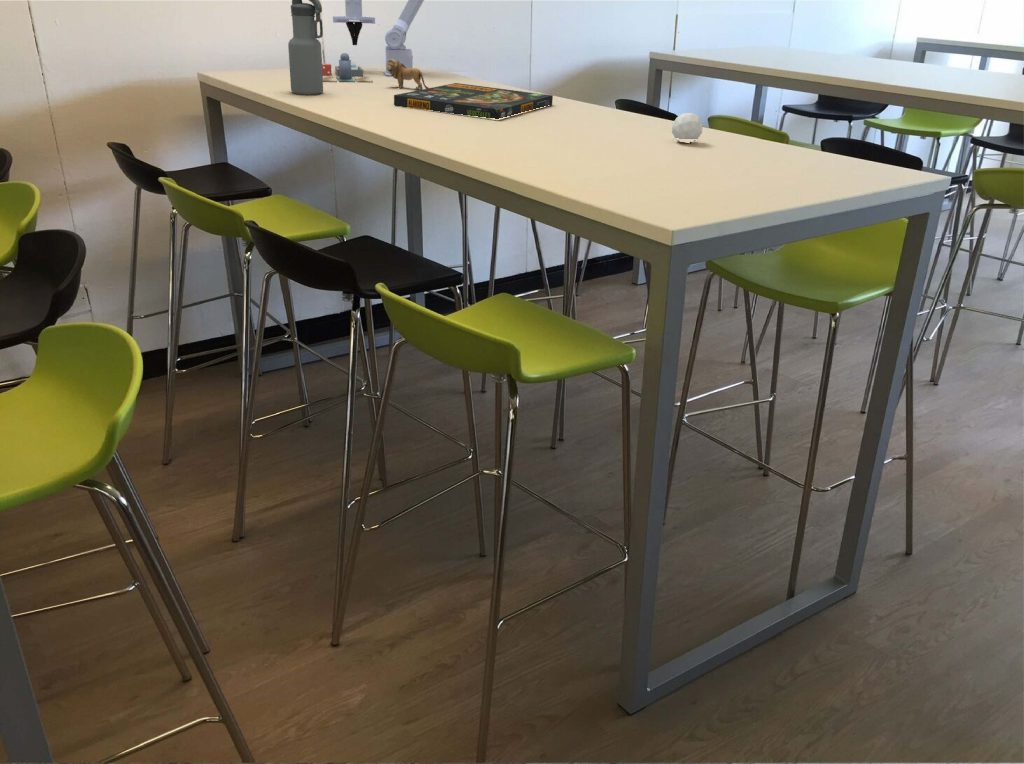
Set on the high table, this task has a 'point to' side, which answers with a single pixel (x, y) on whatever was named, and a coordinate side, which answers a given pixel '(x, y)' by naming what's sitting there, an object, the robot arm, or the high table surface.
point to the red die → (326, 69)
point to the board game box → (473, 100)
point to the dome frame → (353, 72)
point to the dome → (354, 66)
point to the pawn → (345, 67)
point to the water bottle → (306, 49)
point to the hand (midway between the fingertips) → (354, 44)
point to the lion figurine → (405, 73)
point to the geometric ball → (687, 126)
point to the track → (358, 79)
